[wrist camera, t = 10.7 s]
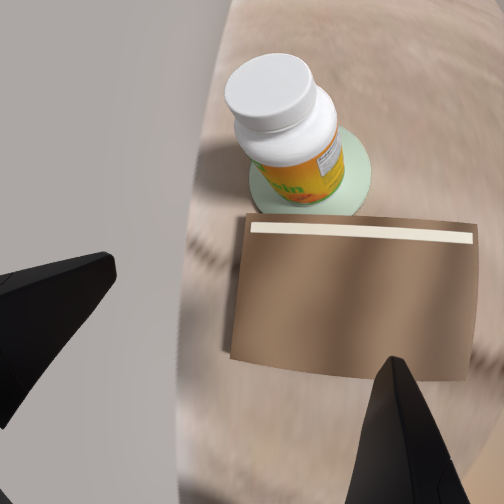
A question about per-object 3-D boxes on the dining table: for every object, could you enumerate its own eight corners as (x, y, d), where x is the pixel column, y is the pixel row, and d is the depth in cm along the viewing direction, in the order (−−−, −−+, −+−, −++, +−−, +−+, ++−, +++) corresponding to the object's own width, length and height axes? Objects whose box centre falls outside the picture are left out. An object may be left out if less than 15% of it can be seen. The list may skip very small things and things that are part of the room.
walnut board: (471, 228, 15) (477, 223, 14) (459, 376, 14) (466, 380, 12) (252, 218, 21) (245, 212, 20) (236, 355, 19) (228, 358, 18)
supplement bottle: (258, 188, 21) (187, 113, 12) (294, 131, 20) (249, 38, 11) (321, 222, 19) (287, 149, 10) (358, 158, 18) (348, 57, 9)
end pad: (388, 211, 17) (389, 209, 17) (265, 248, 20) (263, 247, 20) (345, 110, 20) (344, 107, 19) (241, 144, 22) (239, 142, 22)
